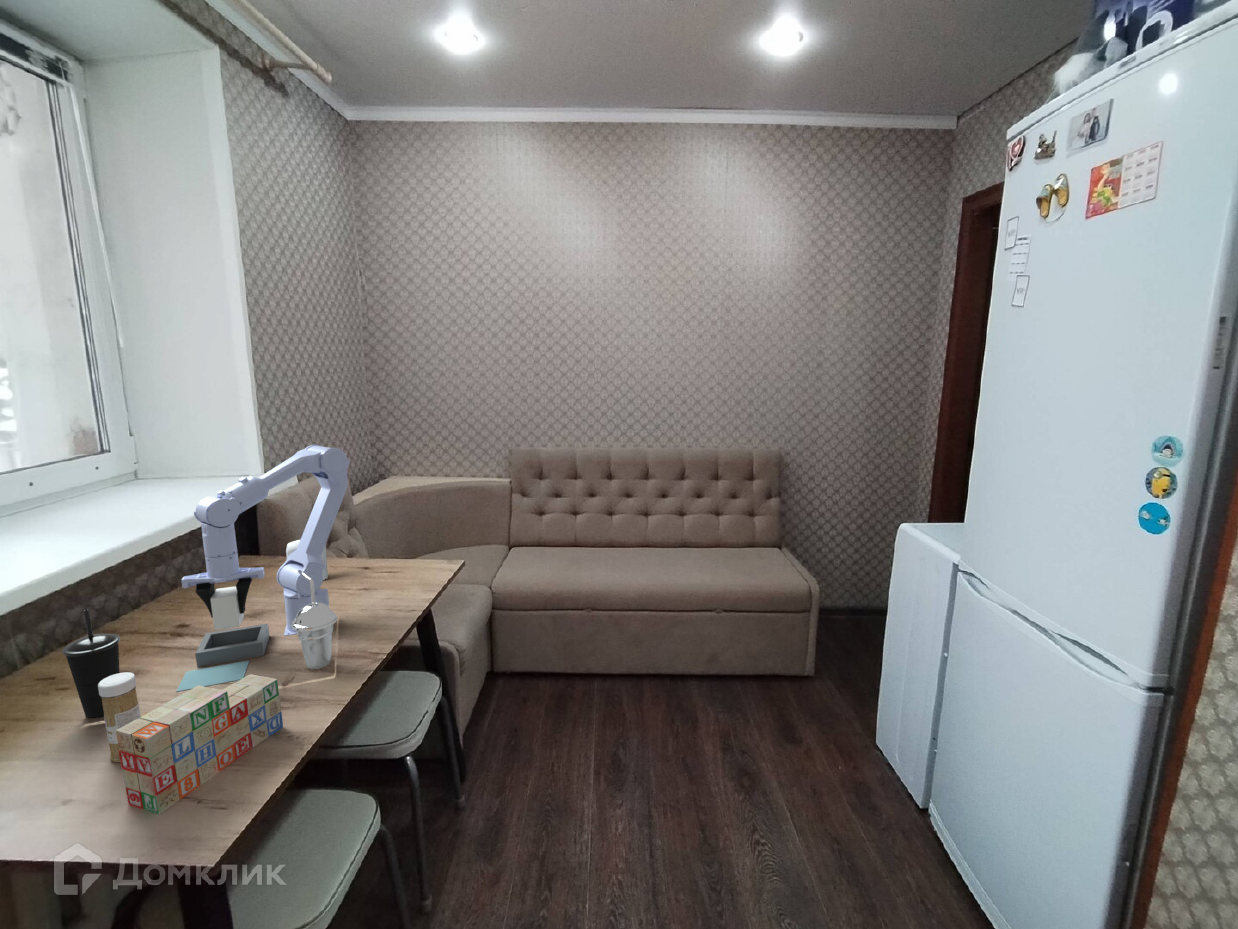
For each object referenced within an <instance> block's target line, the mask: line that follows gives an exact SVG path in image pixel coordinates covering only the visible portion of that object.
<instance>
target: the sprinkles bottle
mask: <svg viewBox="0 0 1238 929" xmlns="http://www.w3.org/2000/svg"><path fill="white" fill-rule="evenodd" d="M98 690H99V695H100V696H101V698H102V703H103V710H104V717H103V718H104V725H105V731H106V736H107V738H106V739H107V743H108V745H109V752H110V754H109V755H110V756H109V759H110V761H112V762H114V763H120V757H119V751H118V750H119V745H118V739H117V734H116V730H118V729H119V728H121V727H123V726H125V725H127V724H129V723H130V722H132V721H134V720H136V719H139V718H140V717H142V716H141V712H140V704H139V701H138V696H137V680H136V675H135V674H134V672H130V671H129V672H120V673H118V674H114V675H111V676H109V677H107V678H105V679H103V680H102V681H100V682H99V684H98Z"/></svg>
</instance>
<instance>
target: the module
mask: <svg viewBox="0 0 1238 929" xmlns="http://www.w3.org/2000/svg"><path fill="white" fill-rule="evenodd" d="M211 607H212V615H213V618H212V622H213V623H212V624H213V629H214V631H213V632H216V631H222V630H229V629H235V628H241V627H240V626H241V624H242V622H243V620H244V617H245V612H244V613H242V614H240V611H239V598H238V593H237V589H236V585H235V586H227V587H220V588H216V589H215V592H214V594H213V596H212V597H211Z"/></svg>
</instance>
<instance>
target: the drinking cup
mask: <svg viewBox="0 0 1238 929" xmlns="http://www.w3.org/2000/svg"><path fill="white" fill-rule="evenodd" d="M83 614H84V622H85V626H86V634H87V635H86V636H83V637H81V638H78V639H76V640H75V641H73V642H71V643H68V644H67V645H66V646H64V647H63V649H62V654H63V655H64V656H65V657H66V660H67V663H68V666H69V667H68V668H69V669H70V674H72V675H71V676H72V679H73V682H74V684H75V687H76V688H75V689H76V691H77V694H78V698H79V701H80V703H81V707H82V710H83V712H84V716H85V718H86V719H94V720H95V719H99V718H104V710H103V703H102V698H101V696H100V695H99V690H98V684H99V682H100V681H102V680H103V679H105V678H107V677H109V676H111V675H114V674H118V673H121V671H120V650H119V643H120V640H121V636H120V635H118V634H116V633H94V632H93V628H92V622H91V617H90V610H89V608H86V609H83Z"/></svg>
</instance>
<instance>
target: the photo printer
mask: <svg viewBox="0 0 1238 929" xmlns="http://www.w3.org/2000/svg"><path fill="white" fill-rule="evenodd" d="M300 540H301V539H297V540H294V541H290V542H288V543H287V545H286V550H285V553H286V558H287V557H288V556H289V555H290V554H291V553H293V552H294V551H295V550H297V548H298V545H299V543H300ZM326 548H327V547H326V545H325V547H324V549H323V552H322V554H321V558H322V560H323V563H324V566H325V567H324V569H323V574H322V576H323V581H326V580H328V579H329V572H328V571H329V570H328V561H327V559H328V558H327V549H326ZM325 579H326V580H325Z"/></svg>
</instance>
